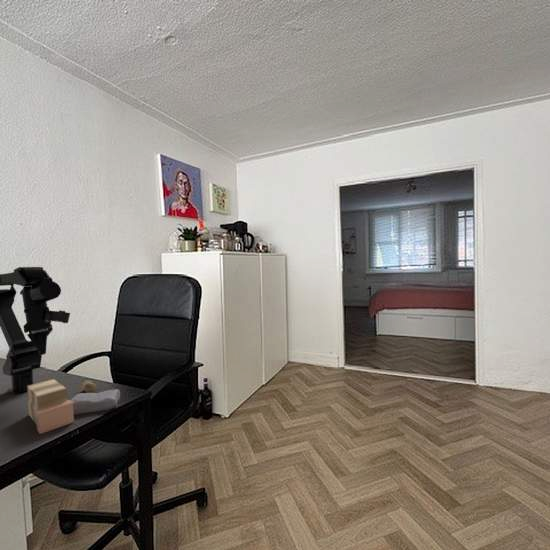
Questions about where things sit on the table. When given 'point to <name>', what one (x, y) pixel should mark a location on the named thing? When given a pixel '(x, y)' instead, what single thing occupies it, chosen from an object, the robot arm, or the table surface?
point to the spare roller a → (89, 387)
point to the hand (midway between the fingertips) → (43, 354)
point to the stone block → (95, 401)
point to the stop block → (54, 416)
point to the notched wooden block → (44, 395)
